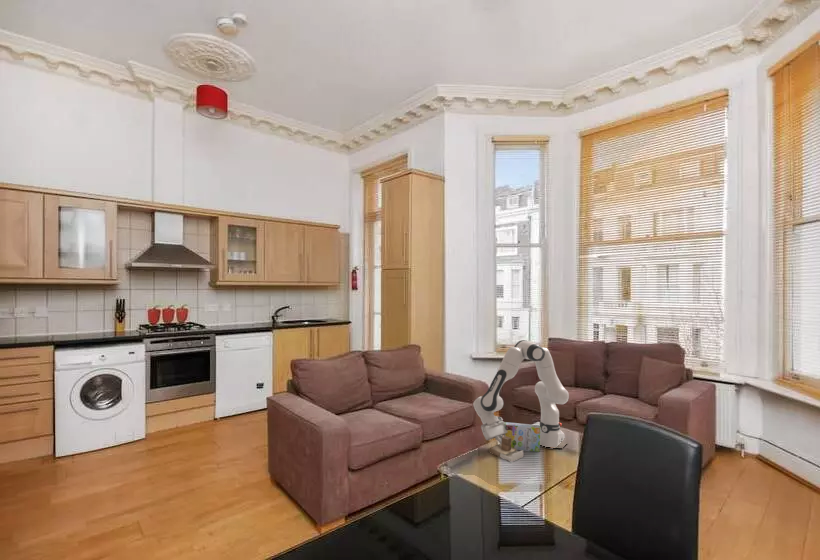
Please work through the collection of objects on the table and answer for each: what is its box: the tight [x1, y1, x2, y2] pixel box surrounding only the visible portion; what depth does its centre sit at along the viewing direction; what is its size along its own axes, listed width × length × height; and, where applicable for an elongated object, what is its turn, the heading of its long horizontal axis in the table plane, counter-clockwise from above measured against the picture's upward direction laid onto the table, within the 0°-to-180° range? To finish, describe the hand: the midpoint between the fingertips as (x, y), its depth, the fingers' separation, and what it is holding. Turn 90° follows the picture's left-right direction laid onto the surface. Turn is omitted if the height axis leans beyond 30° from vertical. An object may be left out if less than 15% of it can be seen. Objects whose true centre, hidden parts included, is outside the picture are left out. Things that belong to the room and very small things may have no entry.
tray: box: [499, 450, 524, 463], centre depth 241 cm, size 12×8×4 cm, turn 132°
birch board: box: [489, 443, 518, 458], centre depth 246 cm, size 12×11×3 cm
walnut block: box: [501, 436, 512, 451], centre depth 244 cm, size 4×4×7 cm
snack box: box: [503, 421, 541, 453], centre depth 255 cm, size 21×6×15 cm, turn 84°
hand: (502, 443), depth 246 cm, fingers closed
